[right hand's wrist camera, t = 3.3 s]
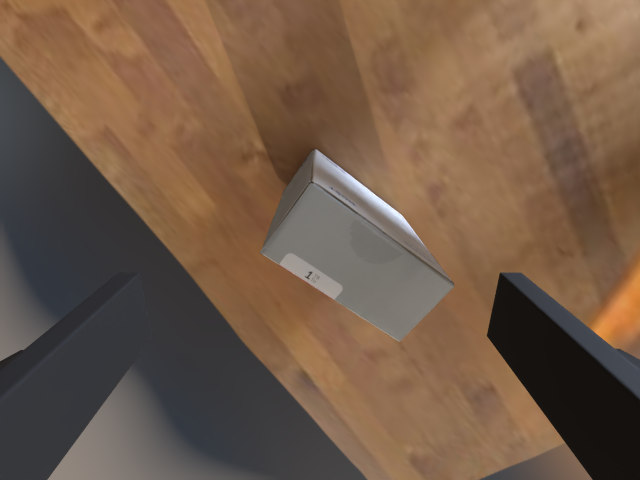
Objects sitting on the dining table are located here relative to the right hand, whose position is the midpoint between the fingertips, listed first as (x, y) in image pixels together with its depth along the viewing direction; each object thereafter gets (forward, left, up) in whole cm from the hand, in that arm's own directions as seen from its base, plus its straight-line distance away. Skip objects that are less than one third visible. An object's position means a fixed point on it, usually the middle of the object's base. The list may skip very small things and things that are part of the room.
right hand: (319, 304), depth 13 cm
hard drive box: (-2, +6, -35) cm, 35 cm away
